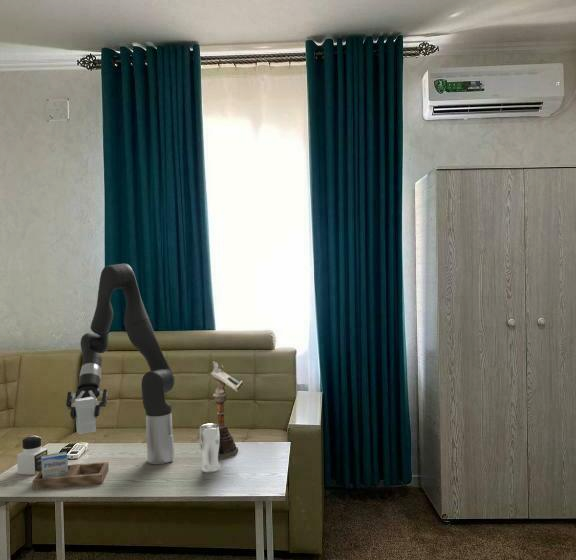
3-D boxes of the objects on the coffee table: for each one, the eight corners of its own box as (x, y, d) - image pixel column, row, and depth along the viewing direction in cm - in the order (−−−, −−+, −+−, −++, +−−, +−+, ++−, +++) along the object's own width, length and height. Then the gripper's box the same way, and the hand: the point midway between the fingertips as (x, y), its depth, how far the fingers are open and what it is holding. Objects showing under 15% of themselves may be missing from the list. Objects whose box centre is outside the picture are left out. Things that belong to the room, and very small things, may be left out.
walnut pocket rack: (108, 470, 192) (108, 461, 192) (102, 483, 180) (101, 474, 180) (44, 475, 189) (43, 467, 189) (33, 489, 177) (32, 480, 177)
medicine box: (42, 485, 180) (41, 458, 180) (42, 480, 184) (40, 455, 183) (68, 480, 183) (67, 454, 183) (67, 475, 187) (66, 450, 187)
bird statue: (254, 447, 212) (250, 356, 211) (247, 459, 199) (243, 362, 198) (212, 446, 214) (208, 357, 213) (202, 458, 201) (199, 363, 200)
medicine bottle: (35, 475, 190) (34, 440, 189) (17, 474, 191) (15, 440, 191) (48, 467, 197) (47, 434, 196) (30, 467, 198) (29, 434, 198)
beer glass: (224, 467, 191) (223, 424, 191) (213, 474, 185) (212, 430, 184) (207, 464, 194) (206, 422, 194) (196, 471, 188) (194, 428, 187)
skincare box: (93, 429, 200) (91, 396, 199) (96, 431, 196) (94, 398, 196) (75, 432, 196) (74, 399, 196) (78, 435, 193) (76, 401, 192)
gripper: (67, 373, 202) (60, 413, 191) (108, 371, 204) (103, 410, 193) (72, 385, 207) (65, 424, 196) (111, 382, 209) (107, 421, 198)
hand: (84, 417), depth 194 cm, fingers closed on skincare box, 7 cm apart
